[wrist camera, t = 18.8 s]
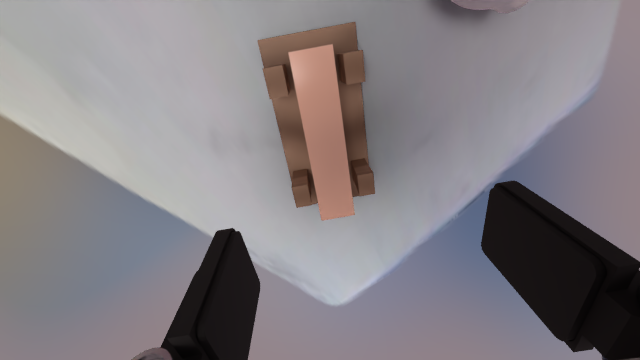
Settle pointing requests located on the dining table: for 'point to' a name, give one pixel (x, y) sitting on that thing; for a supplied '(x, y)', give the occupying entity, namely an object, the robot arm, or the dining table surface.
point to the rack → (289, 112)
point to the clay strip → (323, 128)
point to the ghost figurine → (492, 4)
